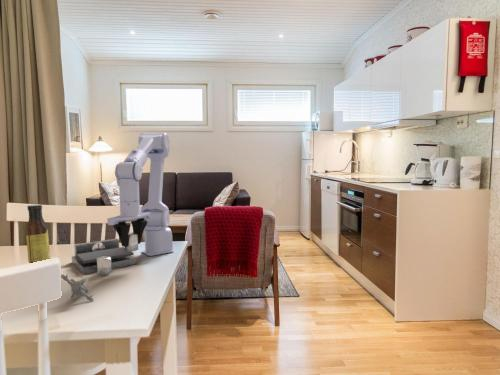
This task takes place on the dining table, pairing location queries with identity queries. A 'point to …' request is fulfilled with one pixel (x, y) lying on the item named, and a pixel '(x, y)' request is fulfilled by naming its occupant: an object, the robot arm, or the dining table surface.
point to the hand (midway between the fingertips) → (131, 244)
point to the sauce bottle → (37, 235)
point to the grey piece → (77, 287)
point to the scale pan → (104, 254)
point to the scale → (98, 247)
